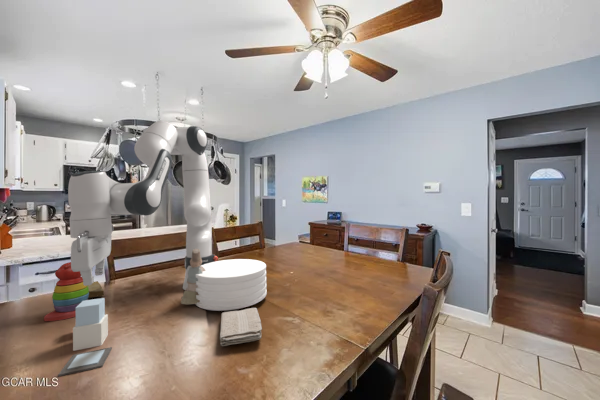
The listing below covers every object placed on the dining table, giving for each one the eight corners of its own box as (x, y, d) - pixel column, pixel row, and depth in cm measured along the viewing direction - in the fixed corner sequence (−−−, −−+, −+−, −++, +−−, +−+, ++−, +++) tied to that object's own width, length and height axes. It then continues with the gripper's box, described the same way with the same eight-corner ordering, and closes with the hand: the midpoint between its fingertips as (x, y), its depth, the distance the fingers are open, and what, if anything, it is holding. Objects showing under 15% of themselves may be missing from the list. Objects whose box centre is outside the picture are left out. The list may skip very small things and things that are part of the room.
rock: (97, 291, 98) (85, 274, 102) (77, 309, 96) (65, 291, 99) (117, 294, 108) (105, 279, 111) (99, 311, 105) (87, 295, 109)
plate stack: (187, 293, 106) (186, 265, 106) (250, 280, 122) (249, 256, 122) (204, 318, 83) (203, 283, 83) (279, 298, 99) (278, 268, 99)
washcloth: (219, 348, 67) (219, 337, 67) (220, 318, 85) (220, 309, 85) (264, 341, 71) (264, 330, 71) (256, 313, 88) (256, 304, 88)
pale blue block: (104, 315, 73) (104, 297, 73) (99, 322, 69) (98, 304, 69) (83, 318, 71) (82, 300, 71) (75, 326, 67) (75, 307, 67)
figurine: (197, 306, 90) (196, 250, 90) (176, 305, 92) (175, 249, 92) (210, 297, 99) (209, 245, 99) (191, 296, 100) (190, 245, 100)
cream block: (108, 334, 74) (107, 314, 74) (101, 345, 69) (101, 323, 68) (82, 339, 72) (81, 318, 72) (73, 351, 66) (72, 328, 66)
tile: (111, 348, 67) (111, 345, 67) (102, 366, 60) (102, 363, 60) (73, 356, 64) (73, 353, 64) (58, 376, 56) (58, 373, 56)
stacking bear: (67, 307, 93) (67, 258, 93) (97, 306, 94) (96, 258, 94) (39, 321, 82) (39, 266, 82) (73, 320, 83) (72, 265, 83)
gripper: (94, 232, 62) (97, 289, 62) (114, 225, 80) (117, 268, 81) (60, 235, 59) (63, 294, 59) (89, 226, 78) (92, 271, 78)
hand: (94, 279), depth 70 cm, fingers open, 8 cm apart
